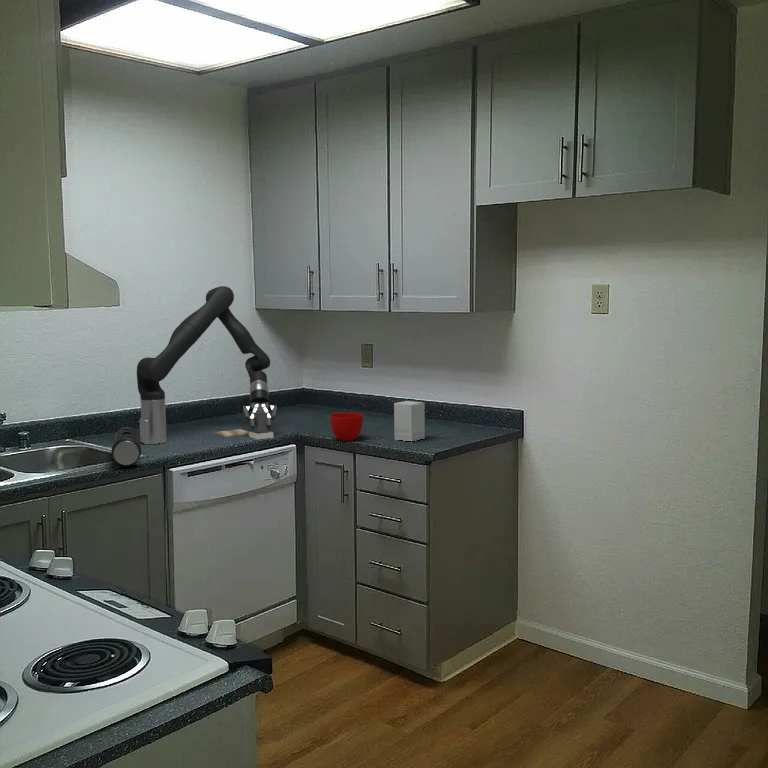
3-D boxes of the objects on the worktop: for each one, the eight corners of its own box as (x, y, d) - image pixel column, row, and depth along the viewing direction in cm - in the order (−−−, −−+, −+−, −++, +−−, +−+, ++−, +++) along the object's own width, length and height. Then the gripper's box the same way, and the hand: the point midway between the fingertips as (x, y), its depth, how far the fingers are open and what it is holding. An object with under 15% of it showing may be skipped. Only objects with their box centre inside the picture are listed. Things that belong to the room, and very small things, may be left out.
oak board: (224, 438, 329) (224, 435, 329) (214, 434, 337) (214, 432, 337) (251, 434, 336) (251, 432, 336) (240, 431, 344) (240, 429, 344)
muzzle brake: (141, 452, 301) (140, 425, 300) (141, 468, 274) (140, 438, 273) (113, 454, 298) (112, 426, 297) (111, 470, 271) (110, 440, 270)
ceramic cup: (373, 436, 330) (373, 412, 329) (353, 444, 315) (352, 418, 314) (345, 434, 336) (345, 410, 335) (324, 441, 321) (323, 416, 320)
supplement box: (425, 439, 324) (425, 402, 322) (411, 442, 317) (411, 404, 315) (407, 437, 329) (407, 400, 328) (393, 440, 323) (393, 402, 321)
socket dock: (257, 440, 323) (257, 433, 322) (249, 438, 329) (248, 431, 328) (273, 438, 327) (273, 432, 327) (265, 436, 333) (264, 429, 332)
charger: (258, 438, 325) (258, 413, 324) (254, 436, 328) (253, 412, 327) (267, 437, 327) (267, 412, 326) (263, 435, 331) (262, 411, 329)
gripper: (241, 388, 332) (242, 422, 321) (277, 387, 334) (279, 421, 324) (241, 400, 337) (242, 433, 327) (276, 399, 340) (278, 432, 330)
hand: (261, 427), depth 326 cm, fingers closed on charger, 5 cm apart
